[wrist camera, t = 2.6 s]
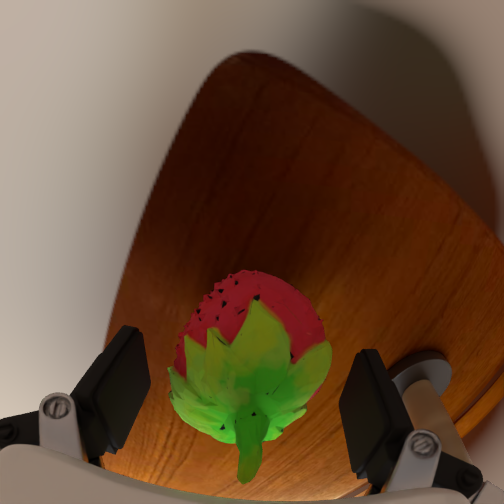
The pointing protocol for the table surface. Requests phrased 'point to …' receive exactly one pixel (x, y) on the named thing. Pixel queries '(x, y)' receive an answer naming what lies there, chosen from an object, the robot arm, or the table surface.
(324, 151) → the table surface
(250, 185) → the table surface
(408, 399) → the post
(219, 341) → the strawberry
